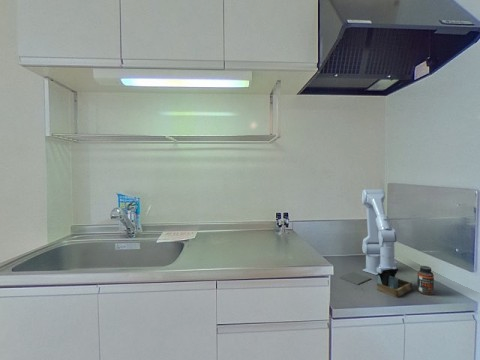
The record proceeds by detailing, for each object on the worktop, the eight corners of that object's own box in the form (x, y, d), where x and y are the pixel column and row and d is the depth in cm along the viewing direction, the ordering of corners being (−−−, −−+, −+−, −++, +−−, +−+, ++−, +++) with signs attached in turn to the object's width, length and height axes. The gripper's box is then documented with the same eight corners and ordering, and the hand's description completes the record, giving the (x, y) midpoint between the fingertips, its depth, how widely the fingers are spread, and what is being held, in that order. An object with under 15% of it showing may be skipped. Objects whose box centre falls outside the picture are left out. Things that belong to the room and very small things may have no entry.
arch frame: (391, 282, 128) (391, 276, 128) (411, 289, 121) (411, 283, 121) (377, 290, 122) (377, 283, 122) (397, 297, 114) (397, 290, 114)
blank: (382, 283, 128) (382, 273, 128) (398, 289, 122) (397, 278, 122) (378, 285, 126) (378, 275, 125) (393, 291, 120) (393, 280, 120)
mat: (353, 273, 142) (353, 271, 142) (371, 279, 133) (371, 278, 133) (339, 278, 136) (339, 277, 136) (357, 285, 127) (357, 283, 127)
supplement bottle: (421, 295, 116) (421, 269, 115) (414, 289, 121) (414, 264, 121) (436, 295, 115) (436, 269, 114) (429, 289, 121) (428, 264, 120)
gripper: (387, 261, 116) (387, 291, 117) (404, 254, 124) (404, 283, 124) (372, 257, 122) (372, 286, 123) (389, 250, 130) (389, 278, 130)
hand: (387, 284), depth 124 cm, fingers closed on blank, 4 cm apart
